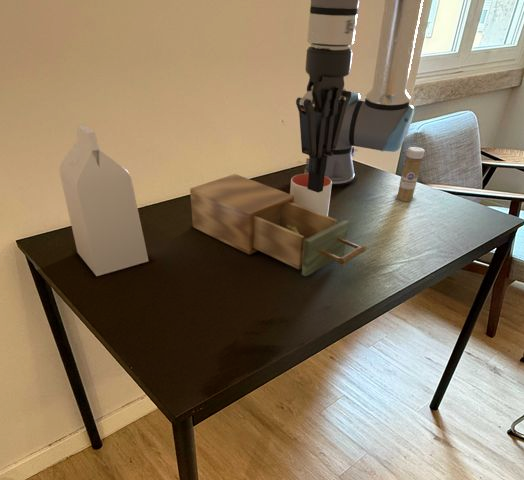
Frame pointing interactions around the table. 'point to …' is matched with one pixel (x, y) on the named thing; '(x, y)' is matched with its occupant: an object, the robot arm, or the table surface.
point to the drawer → (302, 237)
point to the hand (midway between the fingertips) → (315, 189)
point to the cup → (311, 194)
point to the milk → (101, 207)
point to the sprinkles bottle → (410, 173)
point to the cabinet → (233, 208)
